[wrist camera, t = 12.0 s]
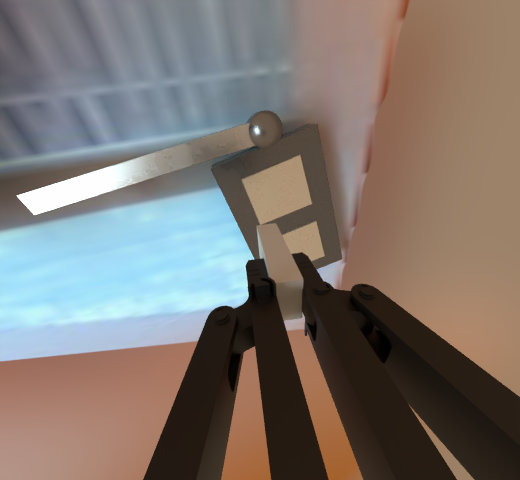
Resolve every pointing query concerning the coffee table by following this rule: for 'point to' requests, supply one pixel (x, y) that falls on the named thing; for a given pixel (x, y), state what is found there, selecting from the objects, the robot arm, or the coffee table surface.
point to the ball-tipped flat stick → (157, 163)
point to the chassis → (284, 194)
